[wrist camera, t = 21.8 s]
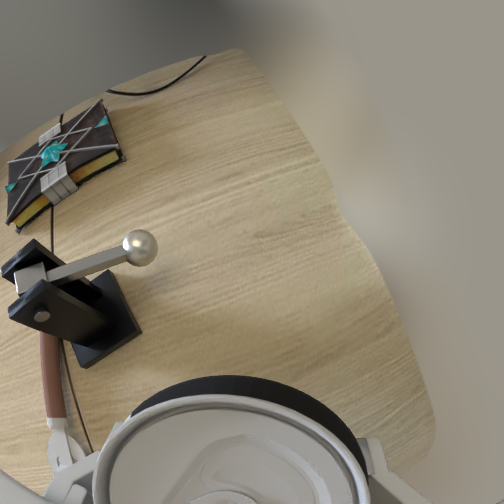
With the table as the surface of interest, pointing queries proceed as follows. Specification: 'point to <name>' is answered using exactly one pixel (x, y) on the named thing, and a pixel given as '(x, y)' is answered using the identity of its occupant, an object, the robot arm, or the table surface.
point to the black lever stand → (72, 307)
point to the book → (60, 164)
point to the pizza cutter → (56, 408)
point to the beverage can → (231, 448)
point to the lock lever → (92, 262)
